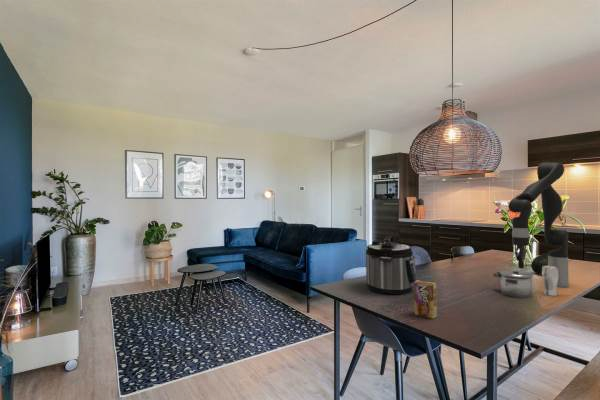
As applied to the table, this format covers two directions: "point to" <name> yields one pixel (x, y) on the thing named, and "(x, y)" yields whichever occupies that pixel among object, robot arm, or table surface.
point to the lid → (515, 274)
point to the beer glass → (550, 280)
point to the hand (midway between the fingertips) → (521, 267)
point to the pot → (515, 286)
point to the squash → (539, 263)
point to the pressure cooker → (390, 267)
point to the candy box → (425, 299)
